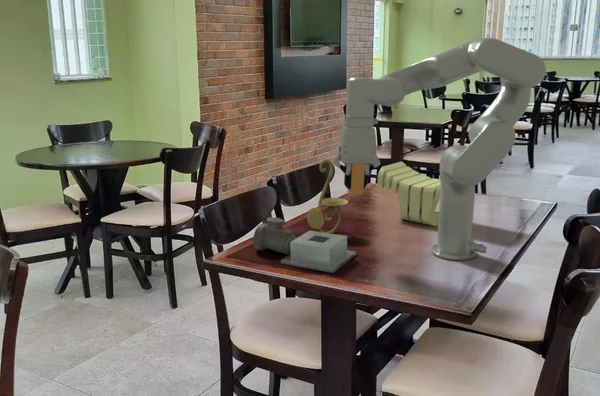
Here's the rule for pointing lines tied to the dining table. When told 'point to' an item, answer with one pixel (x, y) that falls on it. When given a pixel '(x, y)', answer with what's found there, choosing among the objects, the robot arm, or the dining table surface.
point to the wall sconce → (315, 214)
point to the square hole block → (319, 251)
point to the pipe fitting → (273, 236)
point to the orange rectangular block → (357, 179)
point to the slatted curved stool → (412, 192)
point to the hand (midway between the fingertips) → (355, 187)
